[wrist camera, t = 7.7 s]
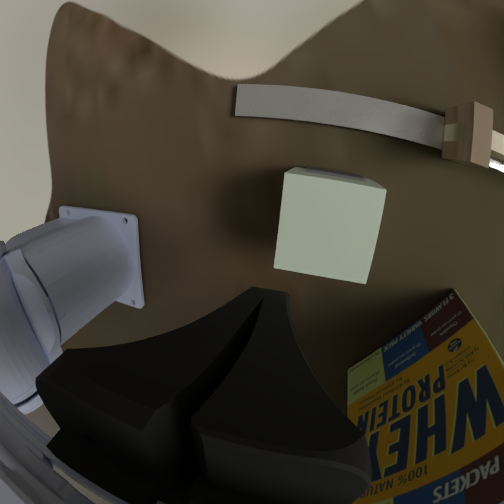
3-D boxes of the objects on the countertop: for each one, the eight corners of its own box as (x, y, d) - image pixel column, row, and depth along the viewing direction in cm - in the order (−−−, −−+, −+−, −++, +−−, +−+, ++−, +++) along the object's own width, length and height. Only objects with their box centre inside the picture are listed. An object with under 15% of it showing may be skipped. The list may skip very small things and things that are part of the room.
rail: (237, 116, 16) (234, 115, 15) (239, 85, 15) (237, 84, 14) (565, 203, 10) (568, 204, 10) (568, 179, 10) (571, 180, 9)
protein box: (452, 284, 16) (553, 483, 1) (507, 379, 16) (549, 502, 2) (343, 368, 20) (322, 565, 6) (426, 434, 21) (433, 558, 7)
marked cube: (286, 239, 18) (273, 268, 14) (295, 164, 16) (285, 169, 12) (357, 251, 17) (365, 283, 13) (371, 176, 15) (387, 186, 11)
